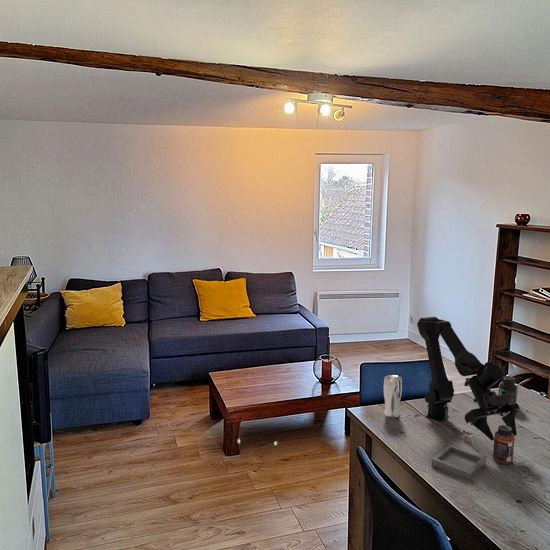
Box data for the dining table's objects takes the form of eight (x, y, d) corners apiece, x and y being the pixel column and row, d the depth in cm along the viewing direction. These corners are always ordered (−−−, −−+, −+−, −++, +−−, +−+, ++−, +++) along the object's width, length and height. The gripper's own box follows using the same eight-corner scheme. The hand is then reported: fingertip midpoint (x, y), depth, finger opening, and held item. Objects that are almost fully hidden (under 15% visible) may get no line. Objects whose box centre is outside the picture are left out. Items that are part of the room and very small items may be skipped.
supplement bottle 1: (500, 408, 203) (502, 380, 201) (495, 401, 209) (497, 374, 207) (518, 409, 202) (520, 381, 200) (512, 402, 209) (515, 375, 206)
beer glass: (401, 412, 200) (403, 376, 198) (400, 419, 194) (401, 382, 191) (383, 409, 203) (385, 374, 200) (381, 416, 196) (382, 380, 194)
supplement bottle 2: (514, 465, 161) (517, 432, 159) (494, 464, 162) (497, 431, 160) (510, 456, 167) (512, 424, 165) (490, 454, 168) (493, 422, 166)
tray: (431, 466, 161) (431, 458, 161) (448, 451, 170) (449, 444, 170) (469, 481, 153) (470, 473, 152) (485, 465, 162) (486, 457, 161)
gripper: (472, 386, 163) (495, 433, 154) (517, 379, 169) (542, 424, 160) (454, 400, 171) (475, 445, 163) (498, 392, 177) (521, 436, 169)
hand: (504, 437), depth 163 cm, fingers open, 9 cm apart
